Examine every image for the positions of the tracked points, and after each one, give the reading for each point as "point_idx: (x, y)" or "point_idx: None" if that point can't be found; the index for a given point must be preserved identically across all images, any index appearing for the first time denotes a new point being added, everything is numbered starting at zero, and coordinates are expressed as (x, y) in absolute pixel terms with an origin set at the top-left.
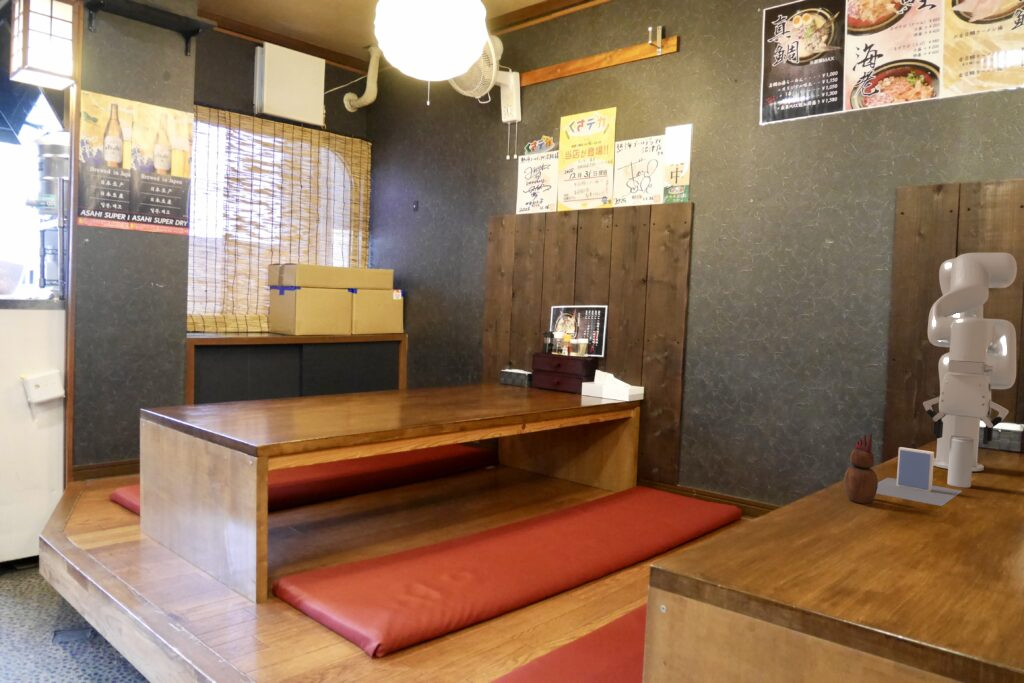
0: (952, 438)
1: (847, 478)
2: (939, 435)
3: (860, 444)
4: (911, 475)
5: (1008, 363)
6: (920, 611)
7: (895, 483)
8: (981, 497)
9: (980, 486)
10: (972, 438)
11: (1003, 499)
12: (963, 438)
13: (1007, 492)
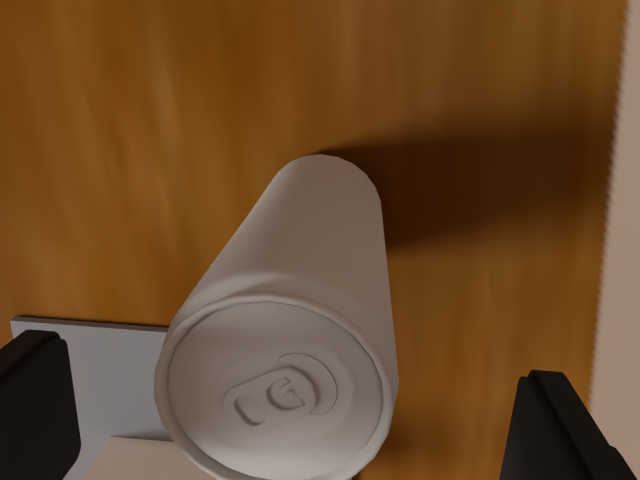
0: (193, 438)
1: None
2: (66, 471)
3: None
4: None
5: None
6: None
7: (92, 421)
8: (446, 378)
9: (423, 77)
10: (381, 376)
11: (542, 344)
12: (298, 453)
13: (573, 133)
